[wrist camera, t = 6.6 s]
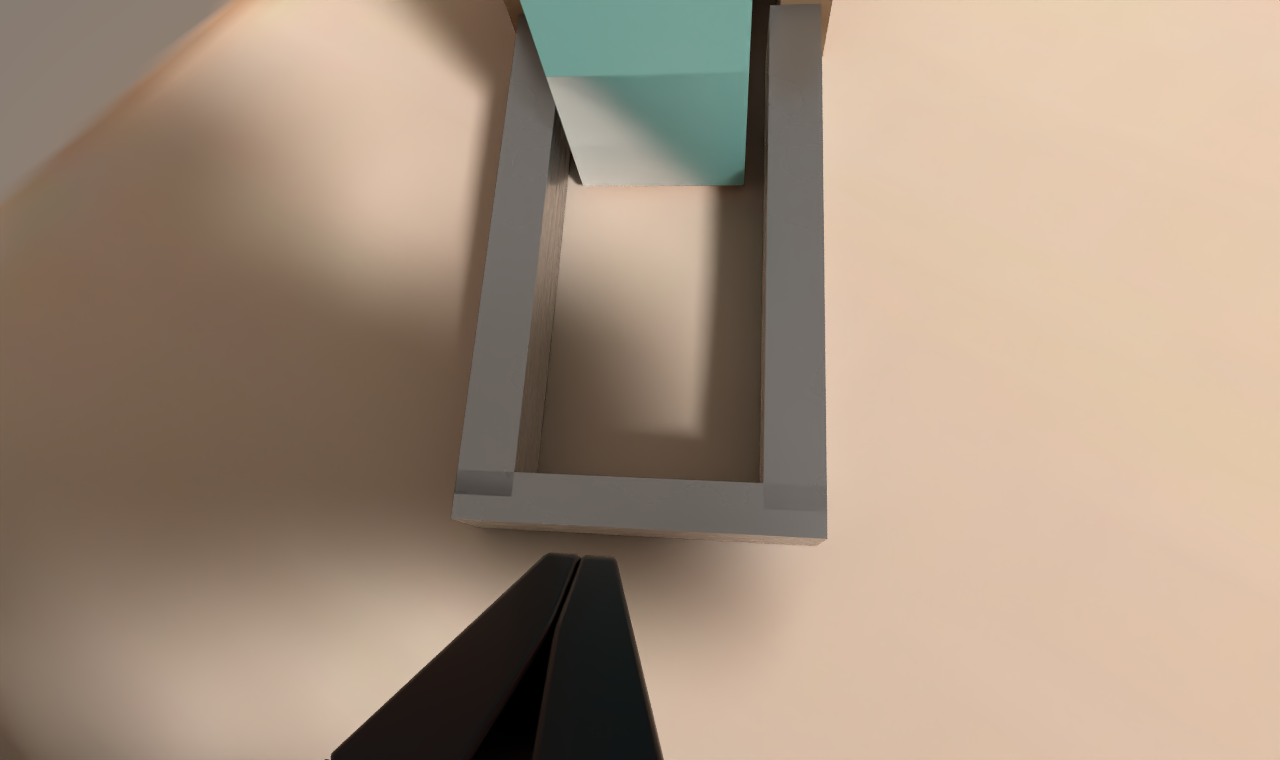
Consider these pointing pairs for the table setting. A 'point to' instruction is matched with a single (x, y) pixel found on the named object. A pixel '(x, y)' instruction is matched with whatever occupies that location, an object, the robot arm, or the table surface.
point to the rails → (524, 309)
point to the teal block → (648, 87)
